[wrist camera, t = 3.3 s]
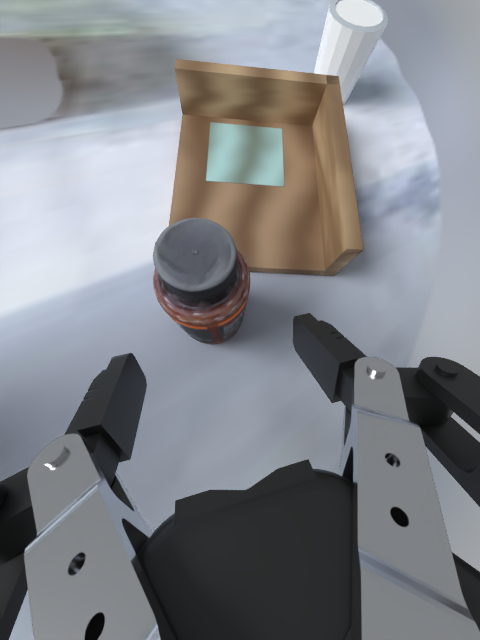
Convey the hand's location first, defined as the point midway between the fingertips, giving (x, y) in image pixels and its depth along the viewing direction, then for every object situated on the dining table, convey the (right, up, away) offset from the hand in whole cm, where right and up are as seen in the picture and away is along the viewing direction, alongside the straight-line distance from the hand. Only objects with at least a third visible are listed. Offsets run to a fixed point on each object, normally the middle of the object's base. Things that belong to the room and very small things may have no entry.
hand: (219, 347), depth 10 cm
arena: (+3, +17, +14) cm, 23 cm away
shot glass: (+14, +34, +20) cm, 42 cm away
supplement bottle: (-2, +2, +11) cm, 11 cm away
